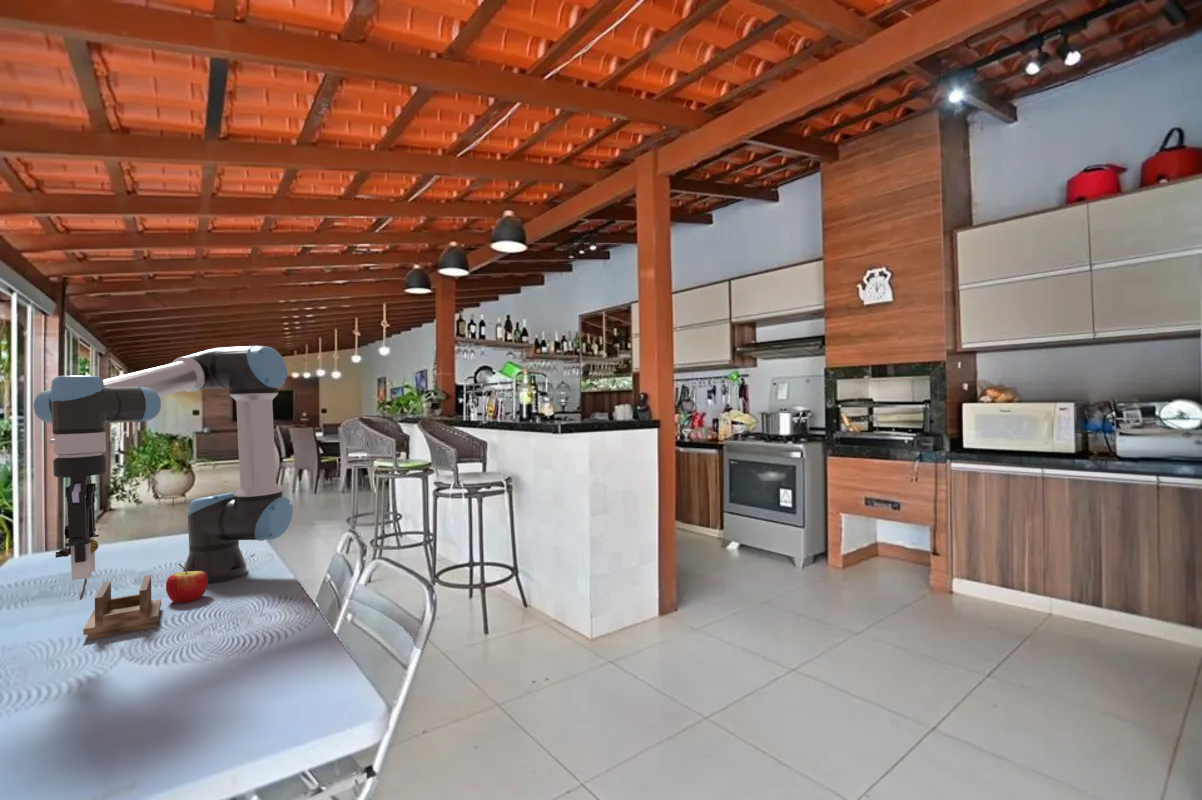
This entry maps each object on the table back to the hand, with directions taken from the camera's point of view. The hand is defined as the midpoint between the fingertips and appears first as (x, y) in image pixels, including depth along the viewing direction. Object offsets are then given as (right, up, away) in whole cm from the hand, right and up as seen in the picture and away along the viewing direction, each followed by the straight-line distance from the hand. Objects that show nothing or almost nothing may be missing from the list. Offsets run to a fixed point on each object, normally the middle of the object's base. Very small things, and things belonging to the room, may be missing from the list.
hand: (83, 574), depth 110 cm
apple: (-2, -17, +31) cm, 35 cm away
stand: (-5, -16, +15) cm, 23 cm away
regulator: (0, -5, -1) cm, 5 cm away
